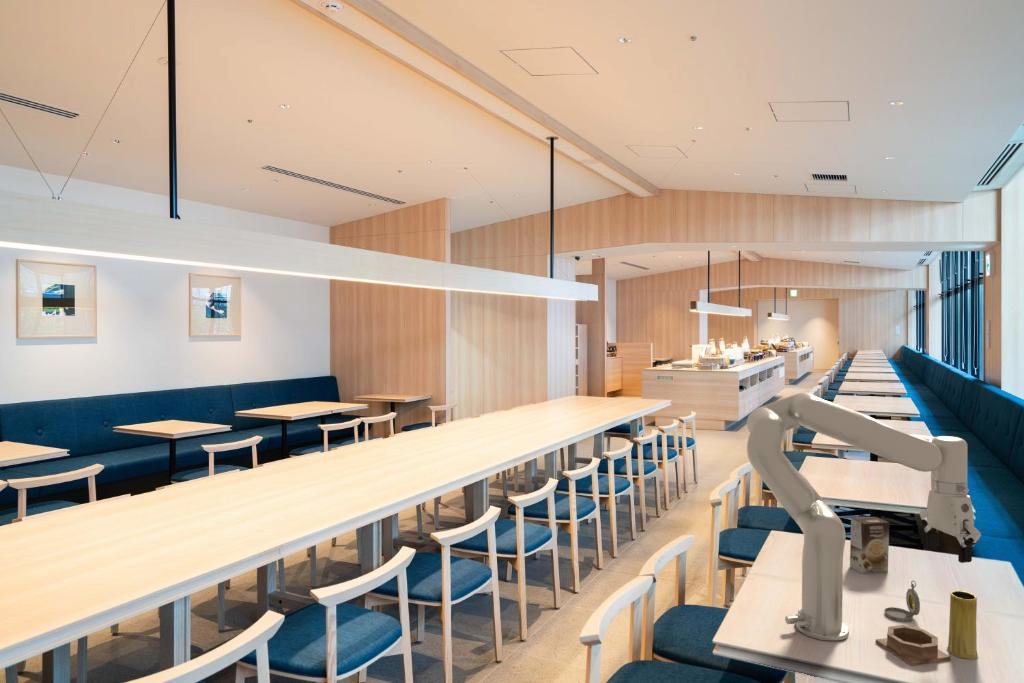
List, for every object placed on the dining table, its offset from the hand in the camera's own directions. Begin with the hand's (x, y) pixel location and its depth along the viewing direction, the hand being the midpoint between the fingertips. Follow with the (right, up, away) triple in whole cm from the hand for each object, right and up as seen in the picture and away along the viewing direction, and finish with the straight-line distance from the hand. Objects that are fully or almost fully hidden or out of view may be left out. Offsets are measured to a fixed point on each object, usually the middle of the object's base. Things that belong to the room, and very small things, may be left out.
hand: (948, 554), depth 164 cm
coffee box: (+5, -20, +46) cm, 50 cm away
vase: (0, -22, -5) cm, 23 cm away
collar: (-12, -22, -4) cm, 25 cm away
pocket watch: (-3, -22, +14) cm, 26 cm away
